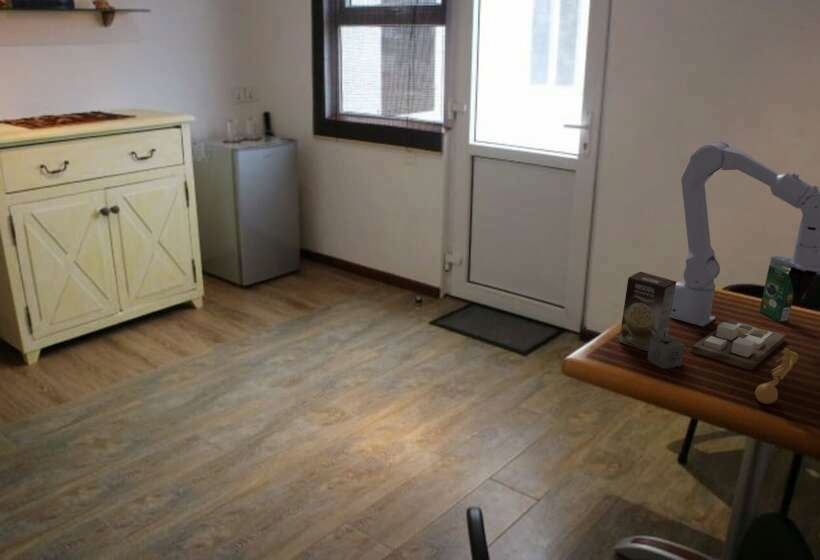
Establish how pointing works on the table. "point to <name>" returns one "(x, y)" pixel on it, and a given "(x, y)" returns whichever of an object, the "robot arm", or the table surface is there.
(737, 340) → the button
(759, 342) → the button
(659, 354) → the grey cube with symbol
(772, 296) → the coffee box
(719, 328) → the button
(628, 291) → the coffee box
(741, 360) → the board
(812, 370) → the table surface
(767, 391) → the figurine
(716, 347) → the button
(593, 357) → the table surface
